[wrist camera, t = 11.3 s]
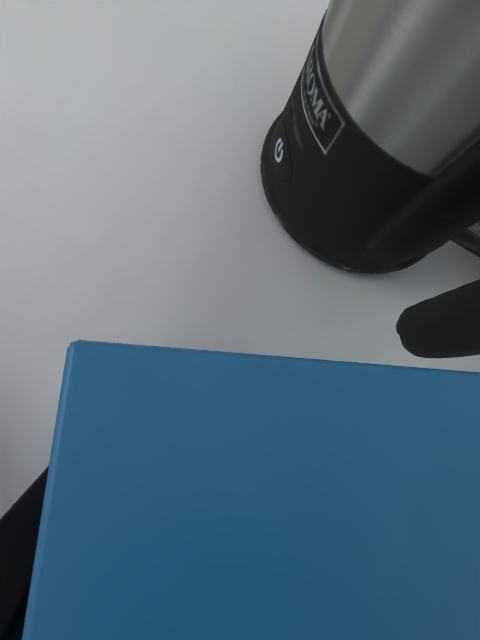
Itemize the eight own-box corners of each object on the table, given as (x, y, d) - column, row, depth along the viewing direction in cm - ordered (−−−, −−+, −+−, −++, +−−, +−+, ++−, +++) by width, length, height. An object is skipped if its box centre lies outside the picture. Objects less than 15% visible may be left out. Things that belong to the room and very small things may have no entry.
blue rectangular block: (265, 561, 14) (715, 1099, 3) (116, 563, 13) (-97, 1374, 2) (268, 413, 16) (588, 380, 4) (133, 406, 15) (67, 337, 3)
